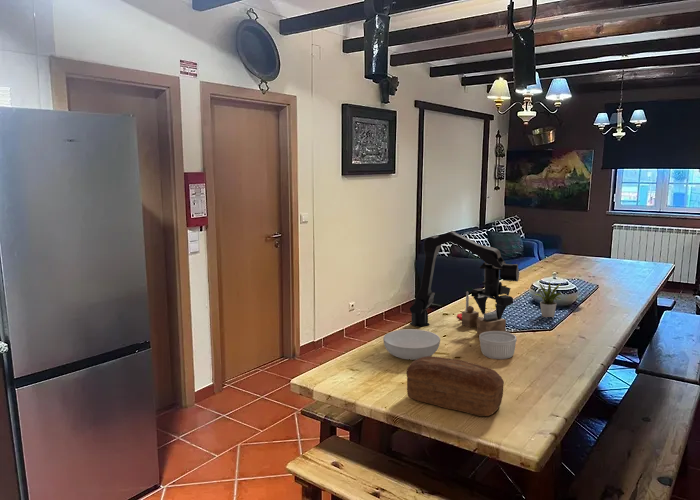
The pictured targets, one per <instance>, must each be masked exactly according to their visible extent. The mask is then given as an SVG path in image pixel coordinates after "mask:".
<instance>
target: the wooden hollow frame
mask: <svg viewBox="0 0 700 500" xmlns="http://www.w3.org/2000/svg"><path fill="white" fill-rule="evenodd" d="M461 313H462V320H461V325H462V326H464V327H466V328H474V327H476V334H479V335H480V334H481V333H483V332H488V331H503V332H507V331H506V326H507V325H506V324H507V319H505V318H502V317H501V319H500V320H494V321H489V322H487V321H484V317H481V316H479V315H480V313H479V312H478V311H475V310H474V307H473V305H469V306H468V307H467V311H465V310H463V311H462V310H461Z"/></svg>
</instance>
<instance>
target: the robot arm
mask: <svg viewBox="0 0 700 500" xmlns="http://www.w3.org/2000/svg"><path fill="white" fill-rule="evenodd" d="M447 243H452V244H454V245H456V246H458V247H460V248H462V249H464V250H466V251H468V252H470V253H473V254H475V255H476V256H477V257H478V258H479V259H480V260H482V261H483V263H482V265H481V266H479V269H482V270H483V269H484V281H482V285H484V288H482V287H479V288H473V289H472V290H471V293H470V296H471V297H473V299H474V300H475V302H476V304H477V306H478V308H479V310H480V313H481V314H482V315H484V314H485V313H486V309H487V308H486V306H487V305H486V304H487V301H488V299H491V300H495V301H494V302H495V304H494V307H495V312H497V317H498V320H500V319H501V318H502V317H503V315H504V311H505V310H506V308H508V306H511V304H512V305H513V304H514V297H513V296H511V295H510V292H511V287H507V286H504V285H503V283H502V281H505V282H517V283H518V282H519V279H520V271H519V270H520V269H519V264H517V263H513V264H511V263H510V264H509V263H506V261H505V260H504V259H503V257H502V256H501V254H502V253H501V251H500V250H499V249H498V248H495V247H492V246H488V245H483V244H480V243H479V242H476V241H474V240H471V239H469V238H468V237H465V236H463V235H461V234H459V233H457V232H456V231H454V230H451V231H448V232H447V233H444V234H442V235H439V236H438V235H431V236H428V237H427V238H425V240H424V241H423V252H424V257H425V258H424V264H423V271H422V277H421V284H420V288H419V290H418V292H417V294H416V297H415V299H414V303H413V304H412V305H411V306H410V307H409V311H410V313H411V321H410V322H409V325H411V326H414V327H417V328H420V327H425V326H426V327H427V326H429V325H430V323H429V314H428V309H429V307H430V306H431V305H432V303H434V302H435V301H434V297H435V294H436V292H432V283H433V277H434V271H435V266H436V260H437V256H438V255H439V252H440V251H441V248H442V245H444V244H447ZM500 279H501V280H502V281H500Z"/></svg>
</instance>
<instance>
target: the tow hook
mask: <svg viewBox="0 0 700 500" xmlns="http://www.w3.org/2000/svg"><path fill="white" fill-rule="evenodd" d="M469 298H470V297H469V291H466V296H465V310H464V311H467V307H468V306H470V305H469V304H470V303H469V301H470V299H469ZM456 317H457V318H458V319H459V320H460V321H462V312H461V313H458V314H457V315H456Z"/></svg>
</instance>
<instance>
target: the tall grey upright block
mask: <svg viewBox="0 0 700 500" xmlns="http://www.w3.org/2000/svg"><path fill="white" fill-rule="evenodd" d="M483 318H484V321H487V322H489V321H494V320H498V317H497V312H496V311H490V312H485V314H483Z"/></svg>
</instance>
